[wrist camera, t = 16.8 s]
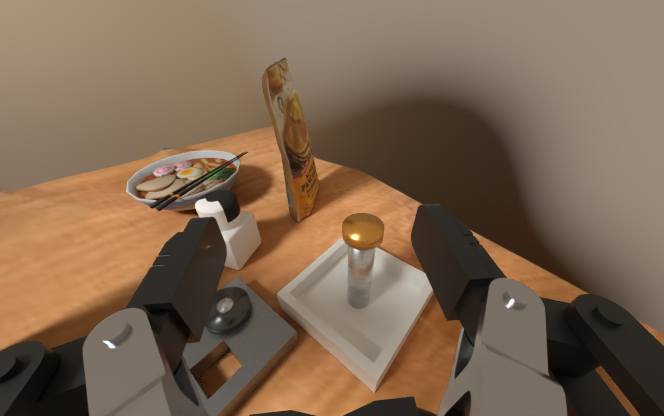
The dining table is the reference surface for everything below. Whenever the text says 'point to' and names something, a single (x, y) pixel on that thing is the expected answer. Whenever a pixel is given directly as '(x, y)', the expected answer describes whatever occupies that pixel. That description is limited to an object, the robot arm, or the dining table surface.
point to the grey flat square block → (239, 345)
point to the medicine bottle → (231, 225)
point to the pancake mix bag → (291, 139)
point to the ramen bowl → (184, 179)
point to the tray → (358, 310)
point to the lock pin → (361, 255)
